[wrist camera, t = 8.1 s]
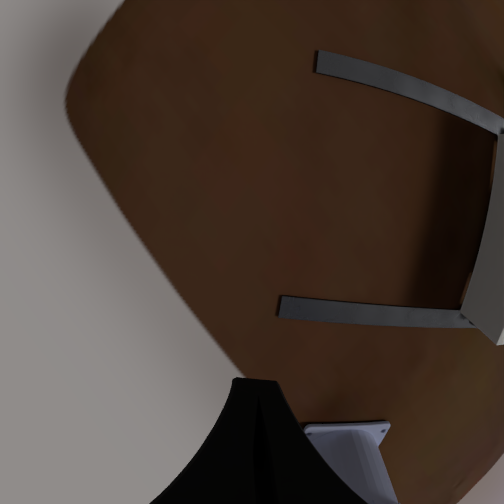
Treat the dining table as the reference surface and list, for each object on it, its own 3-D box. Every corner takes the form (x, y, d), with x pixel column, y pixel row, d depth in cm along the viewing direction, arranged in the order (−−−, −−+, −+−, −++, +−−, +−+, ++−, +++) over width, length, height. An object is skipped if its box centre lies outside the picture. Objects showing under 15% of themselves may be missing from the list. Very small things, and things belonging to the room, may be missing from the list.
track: (538, 325, 21) (539, 326, 21) (278, 316, 20) (278, 317, 20) (576, 168, 16) (577, 168, 16) (318, 50, 15) (318, 49, 15)
